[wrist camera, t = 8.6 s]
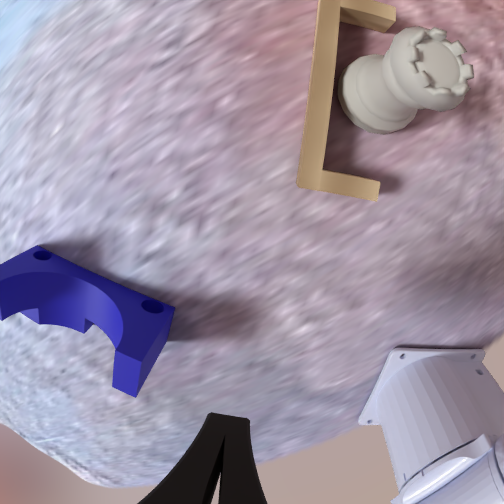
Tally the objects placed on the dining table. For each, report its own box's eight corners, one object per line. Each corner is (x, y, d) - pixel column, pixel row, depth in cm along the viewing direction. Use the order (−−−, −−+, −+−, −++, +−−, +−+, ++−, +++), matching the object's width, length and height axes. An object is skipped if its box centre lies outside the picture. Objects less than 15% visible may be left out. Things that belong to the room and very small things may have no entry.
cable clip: (37, 293, 21) (-8, 327, 15) (38, 244, 19) (-16, 273, 13) (163, 355, 21) (133, 412, 15) (175, 306, 19) (141, 362, 14)
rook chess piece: (319, 79, 14) (352, 23, 7) (382, 49, 13) (447, -7, 6) (362, 148, 15) (429, 149, 8) (422, 115, 14) (510, 102, 7)
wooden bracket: (384, 19, 12) (395, 7, 11) (365, 195, 16) (376, 201, 14) (317, 4, 13) (321, -12, 11) (295, 183, 16) (298, 187, 14)
